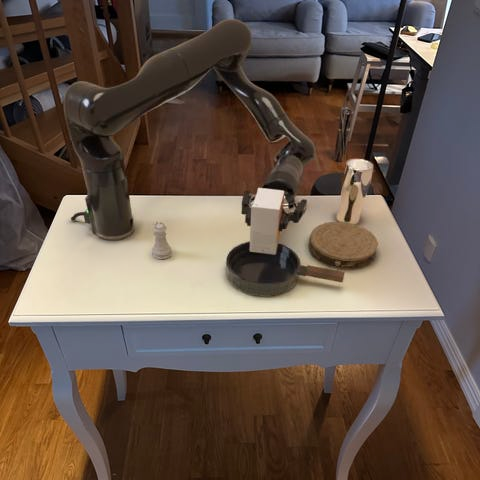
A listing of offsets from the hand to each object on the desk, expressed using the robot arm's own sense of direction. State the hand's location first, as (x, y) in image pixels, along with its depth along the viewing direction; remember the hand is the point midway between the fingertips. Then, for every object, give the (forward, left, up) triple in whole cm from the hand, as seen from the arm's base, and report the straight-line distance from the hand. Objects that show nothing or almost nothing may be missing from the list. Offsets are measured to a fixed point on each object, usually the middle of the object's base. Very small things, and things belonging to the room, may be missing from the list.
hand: (264, 224), depth 89 cm
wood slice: (+16, +17, -14) cm, 27 cm away
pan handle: (+12, +2, -12) cm, 17 cm away
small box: (0, +3, -6) cm, 7 cm away
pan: (0, +2, -14) cm, 14 cm away
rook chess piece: (-24, +2, -14) cm, 28 cm away
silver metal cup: (+16, +32, -14) cm, 39 cm away
